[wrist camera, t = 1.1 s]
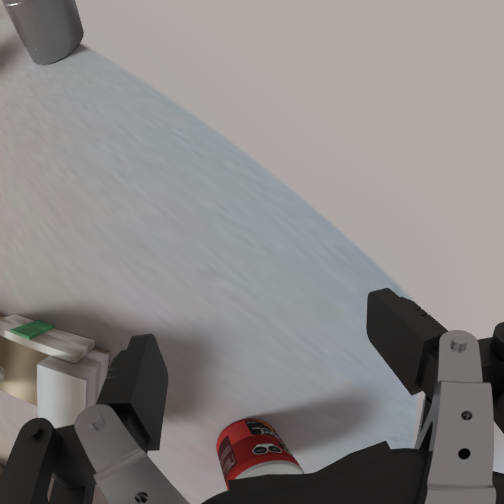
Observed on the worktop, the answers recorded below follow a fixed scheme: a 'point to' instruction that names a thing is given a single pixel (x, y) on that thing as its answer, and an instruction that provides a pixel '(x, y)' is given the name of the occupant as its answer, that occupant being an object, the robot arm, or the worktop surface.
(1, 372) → the gauge plunger
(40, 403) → the gauge housing
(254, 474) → the canned food
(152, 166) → the worktop surface
